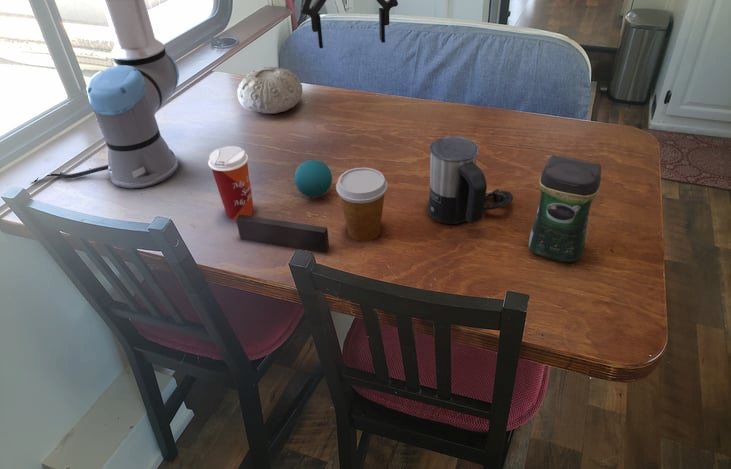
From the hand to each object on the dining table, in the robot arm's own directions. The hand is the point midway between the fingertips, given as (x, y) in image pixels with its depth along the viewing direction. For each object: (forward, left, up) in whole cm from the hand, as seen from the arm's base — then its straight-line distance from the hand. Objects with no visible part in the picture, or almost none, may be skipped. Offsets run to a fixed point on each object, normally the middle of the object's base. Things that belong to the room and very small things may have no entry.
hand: (351, 43), depth 118 cm
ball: (-3, -23, -21) cm, 31 cm away
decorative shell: (-30, +15, -25) cm, 42 cm away
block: (-3, -40, -25) cm, 47 cm away
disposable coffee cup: (+11, -33, -25) cm, 43 cm away
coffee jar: (+47, -30, -25) cm, 61 cm away
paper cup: (-16, -33, -25) cm, 44 cm away
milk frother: (+30, -21, -25) cm, 45 cm away
